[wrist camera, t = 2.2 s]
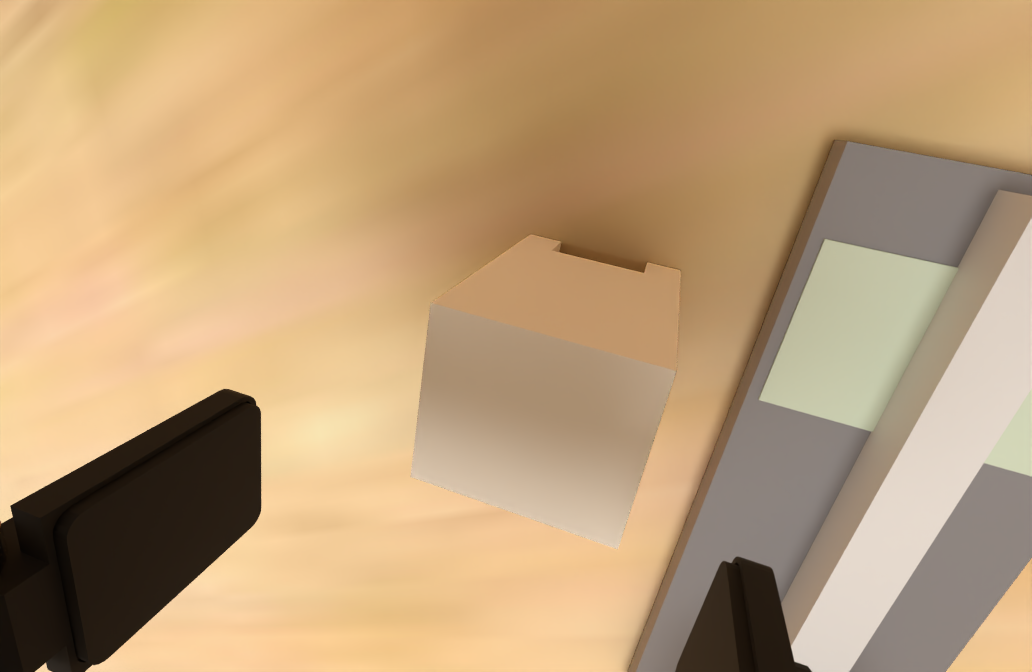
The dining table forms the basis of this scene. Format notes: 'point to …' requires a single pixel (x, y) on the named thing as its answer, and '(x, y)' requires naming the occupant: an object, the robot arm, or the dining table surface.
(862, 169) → the rail board
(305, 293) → the dining table surface
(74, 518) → the robot arm
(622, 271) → the cream rectangular block
